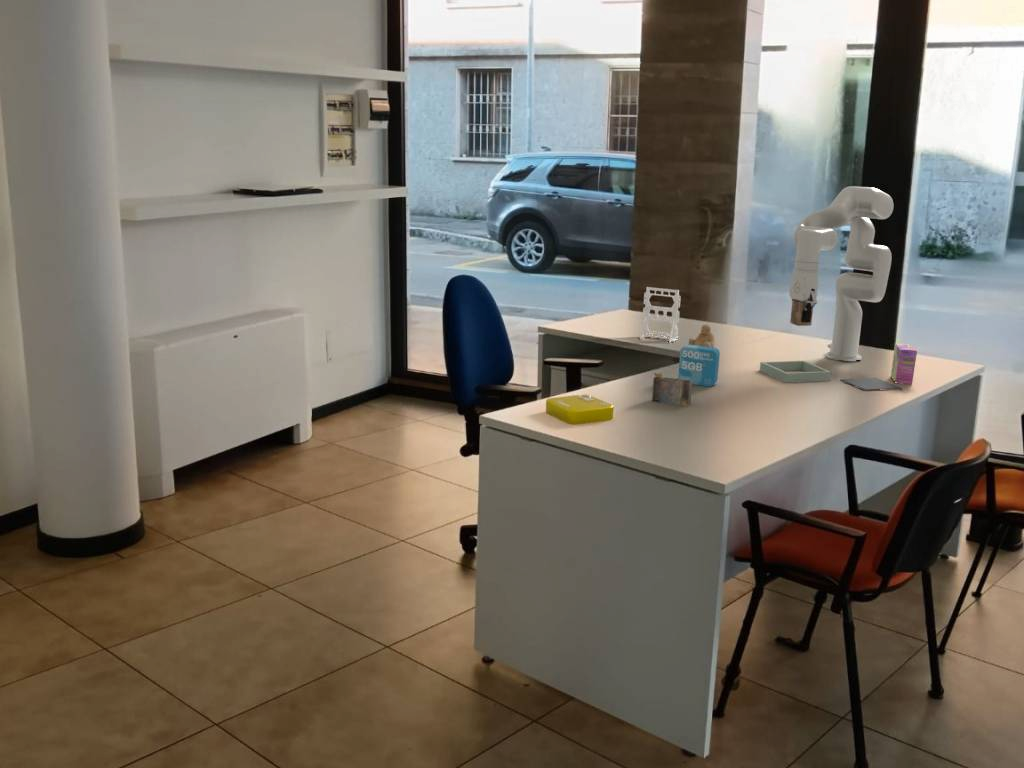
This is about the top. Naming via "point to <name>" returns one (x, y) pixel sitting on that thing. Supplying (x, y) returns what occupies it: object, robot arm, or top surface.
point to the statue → (704, 338)
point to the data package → (699, 365)
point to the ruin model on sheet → (671, 390)
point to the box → (903, 363)
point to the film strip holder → (665, 309)
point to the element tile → (579, 409)
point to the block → (798, 313)
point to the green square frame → (810, 375)
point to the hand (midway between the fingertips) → (801, 319)
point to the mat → (870, 383)
